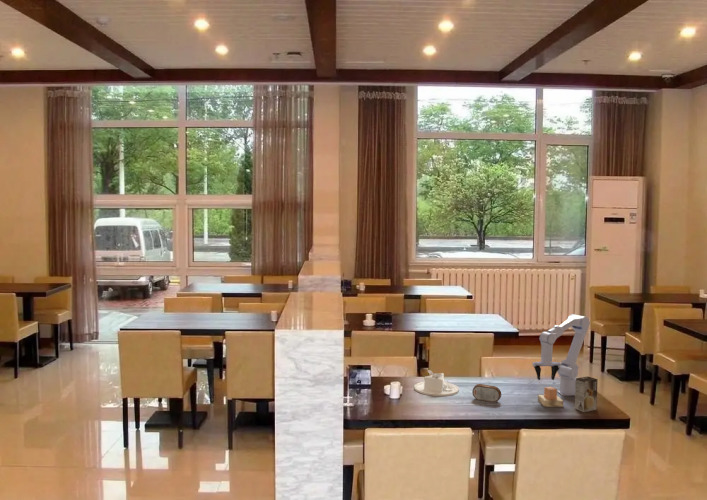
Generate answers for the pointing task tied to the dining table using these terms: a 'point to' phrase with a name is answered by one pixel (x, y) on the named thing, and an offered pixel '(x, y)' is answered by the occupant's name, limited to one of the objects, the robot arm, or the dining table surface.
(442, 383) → the dish
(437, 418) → the dining table surface
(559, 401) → the riser
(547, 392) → the block
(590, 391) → the coffee box
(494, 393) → the tin
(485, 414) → the dining table surface
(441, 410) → the dining table surface
